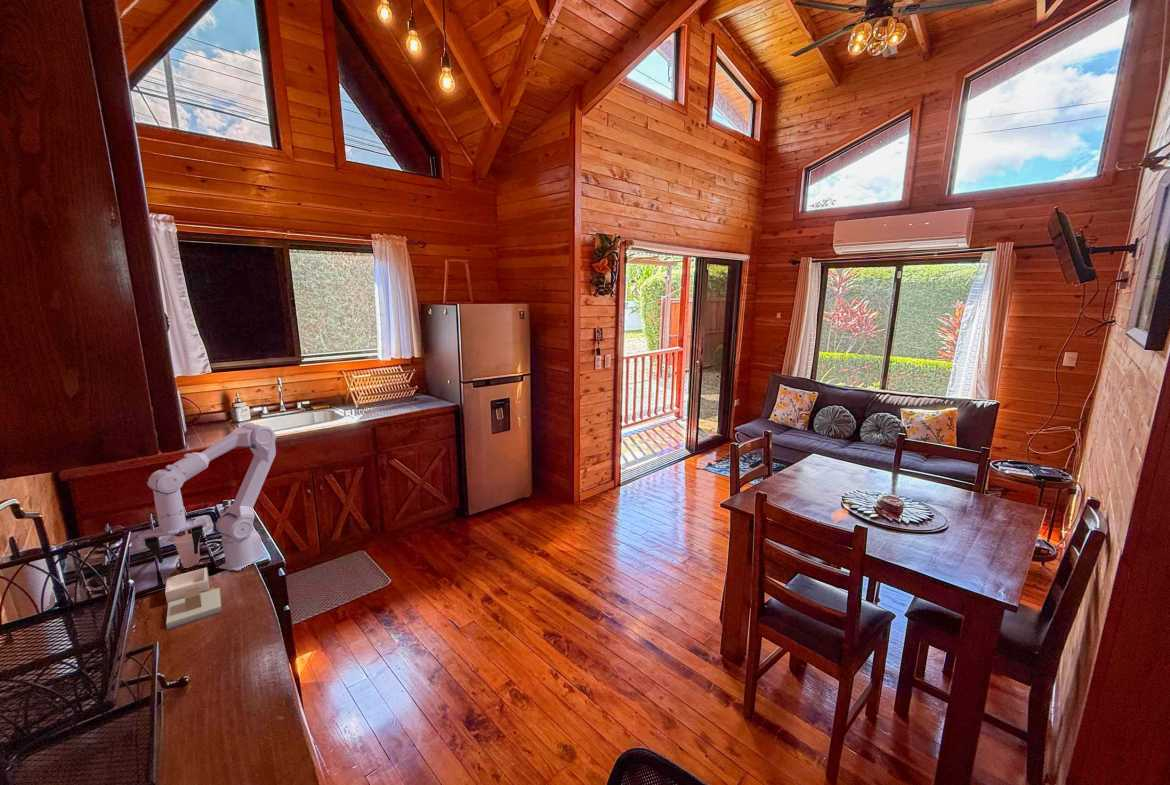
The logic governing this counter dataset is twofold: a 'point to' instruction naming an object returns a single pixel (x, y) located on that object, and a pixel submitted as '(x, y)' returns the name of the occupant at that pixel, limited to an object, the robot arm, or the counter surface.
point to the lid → (193, 605)
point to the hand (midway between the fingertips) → (178, 557)
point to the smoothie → (187, 550)
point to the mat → (194, 619)
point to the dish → (186, 584)
